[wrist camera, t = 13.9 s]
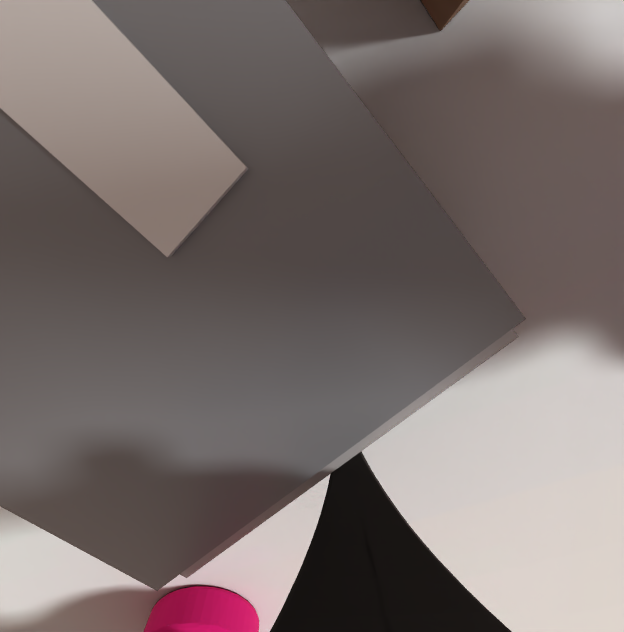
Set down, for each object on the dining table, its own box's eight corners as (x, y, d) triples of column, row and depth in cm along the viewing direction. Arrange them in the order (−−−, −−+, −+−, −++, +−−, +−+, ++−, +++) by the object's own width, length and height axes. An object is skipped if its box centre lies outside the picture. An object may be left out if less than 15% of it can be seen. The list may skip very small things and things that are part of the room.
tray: (461, 304, 11) (524, 344, 8) (219, 496, 14) (193, 581, 11) (153, -71, 7) (38, -279, 4) (-80, 293, 11) (-249, 330, 7)
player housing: (446, 278, 11) (531, 321, 7) (199, 482, 14) (154, 598, 10) (115, -129, 7) (-139, -573, 3) (-116, 267, 10) (-396, 306, 6)
